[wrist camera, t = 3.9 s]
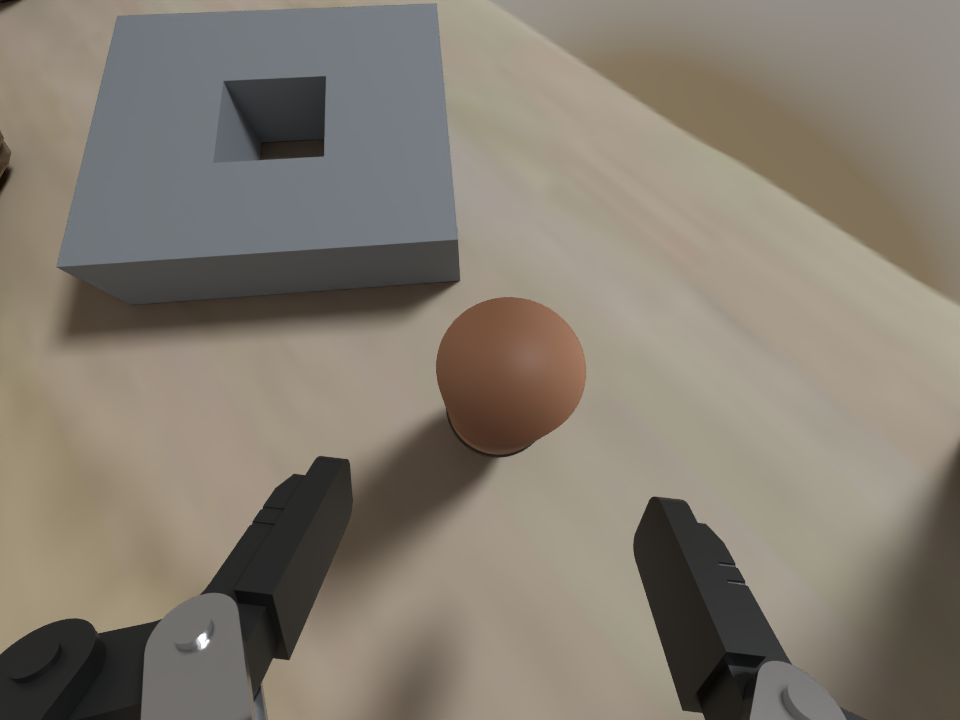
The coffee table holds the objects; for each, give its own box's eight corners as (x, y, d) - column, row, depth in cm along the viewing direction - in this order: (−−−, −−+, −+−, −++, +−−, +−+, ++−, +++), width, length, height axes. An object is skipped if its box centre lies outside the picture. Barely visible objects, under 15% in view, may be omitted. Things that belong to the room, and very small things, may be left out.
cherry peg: (527, 376, 21) (575, 289, 11) (537, 457, 20) (602, 437, 10) (448, 383, 21) (428, 300, 11) (454, 465, 19) (438, 452, 10)
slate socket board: (441, 71, 27) (436, 3, 23) (460, 280, 22) (457, 239, 18) (169, 84, 26) (117, 15, 22) (130, 304, 21) (56, 267, 18)
